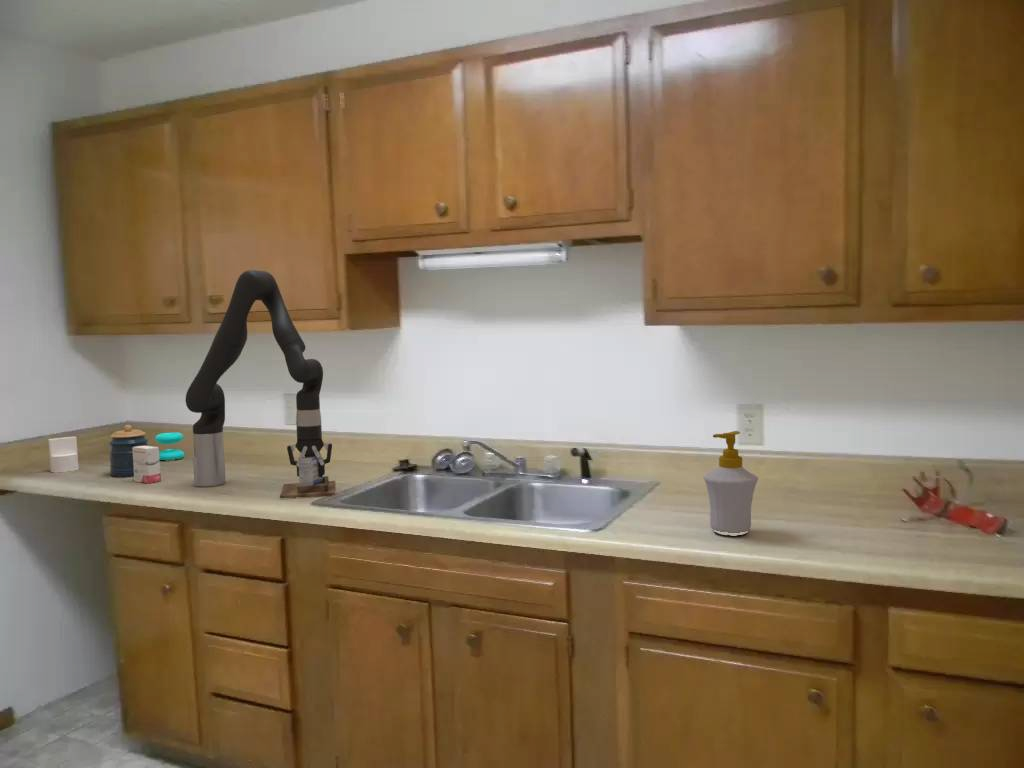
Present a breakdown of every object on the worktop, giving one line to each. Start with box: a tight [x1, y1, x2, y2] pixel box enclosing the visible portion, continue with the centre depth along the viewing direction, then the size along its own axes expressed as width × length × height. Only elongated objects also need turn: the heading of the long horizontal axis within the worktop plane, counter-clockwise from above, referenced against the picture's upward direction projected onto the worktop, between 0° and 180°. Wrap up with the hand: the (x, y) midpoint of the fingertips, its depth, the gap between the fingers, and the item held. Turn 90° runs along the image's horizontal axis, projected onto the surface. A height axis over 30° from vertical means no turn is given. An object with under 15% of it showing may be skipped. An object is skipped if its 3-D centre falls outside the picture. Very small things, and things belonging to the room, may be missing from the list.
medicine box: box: [298, 454, 324, 486], centre depth 254 cm, size 8×4×9 cm, turn 170°
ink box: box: [132, 445, 162, 484], centre depth 275 cm, size 9×5×12 cm, turn 57°
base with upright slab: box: [48, 436, 79, 473], centre depth 298 cm, size 9×9×12 cm
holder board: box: [279, 475, 336, 499], centre depth 255 cm, size 16×18×3 cm
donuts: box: [155, 431, 185, 461], centre depth 318 cm, size 10×10×10 cm
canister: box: [108, 424, 150, 478], centre depth 289 cm, size 13×13×18 cm
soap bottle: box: [703, 430, 759, 533], centre depth 197 cm, size 13×13×25 cm
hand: (311, 477), depth 255 cm, fingers closed on medicine box, 5 cm apart
